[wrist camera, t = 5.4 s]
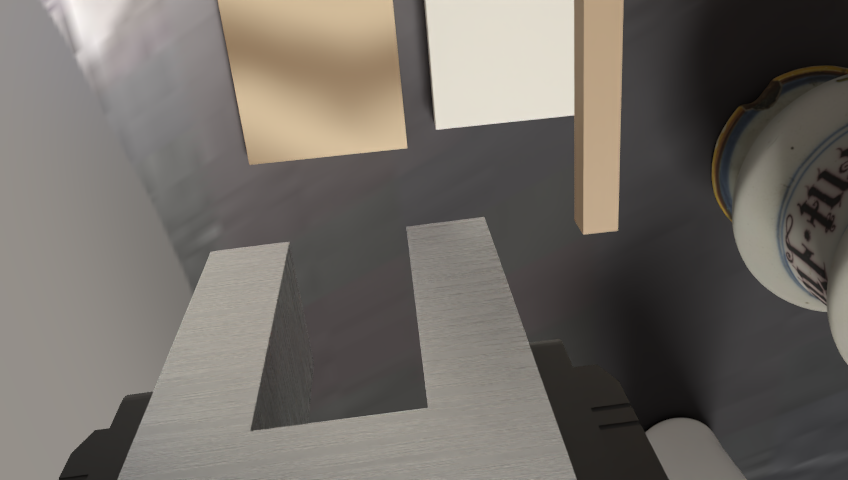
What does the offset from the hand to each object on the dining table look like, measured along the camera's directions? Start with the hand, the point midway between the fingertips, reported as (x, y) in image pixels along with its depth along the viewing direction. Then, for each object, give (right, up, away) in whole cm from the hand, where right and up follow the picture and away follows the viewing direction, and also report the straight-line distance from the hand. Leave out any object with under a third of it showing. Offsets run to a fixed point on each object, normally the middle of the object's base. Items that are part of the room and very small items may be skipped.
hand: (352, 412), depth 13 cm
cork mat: (-4, +12, +25) cm, 28 cm away
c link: (0, +2, +4) cm, 4 cm away
